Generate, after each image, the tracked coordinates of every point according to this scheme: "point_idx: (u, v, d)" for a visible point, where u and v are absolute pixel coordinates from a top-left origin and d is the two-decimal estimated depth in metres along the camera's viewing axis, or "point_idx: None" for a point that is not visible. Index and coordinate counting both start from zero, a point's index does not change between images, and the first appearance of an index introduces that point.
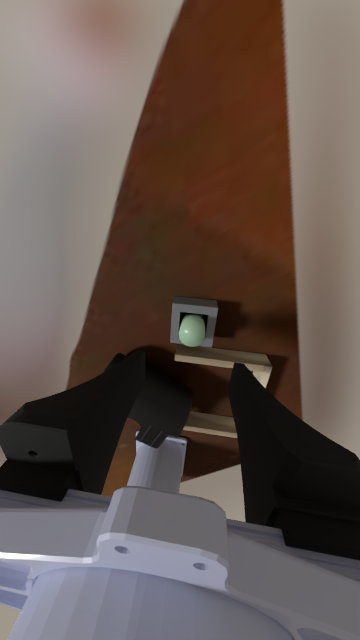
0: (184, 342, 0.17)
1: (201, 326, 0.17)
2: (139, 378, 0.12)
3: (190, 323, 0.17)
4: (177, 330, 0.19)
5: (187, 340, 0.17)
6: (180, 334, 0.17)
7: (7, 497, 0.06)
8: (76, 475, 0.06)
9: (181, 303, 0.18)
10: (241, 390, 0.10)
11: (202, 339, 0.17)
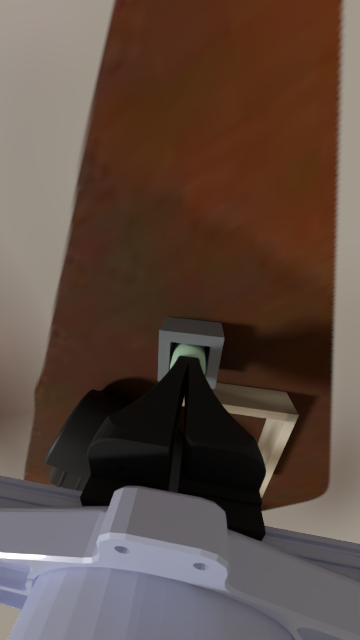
0: None
1: (200, 357, 0.12)
2: (185, 384, 0.12)
3: (185, 354, 0.12)
4: (167, 366, 0.14)
5: None
6: None
7: None
8: None
9: (172, 330, 0.13)
10: (187, 383, 0.10)
11: None
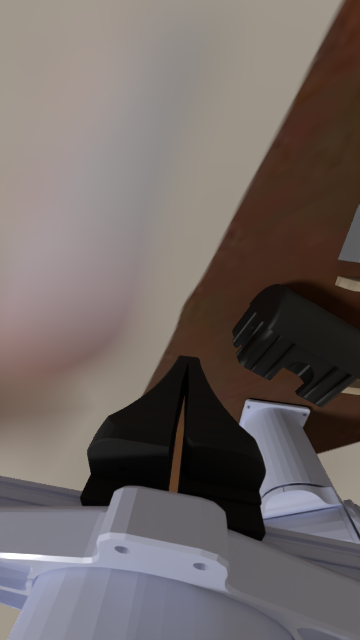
0: None
1: None
2: (185, 384, 0.12)
3: None
4: None
5: None
6: None
7: None
8: None
9: None
10: (187, 383, 0.10)
11: None
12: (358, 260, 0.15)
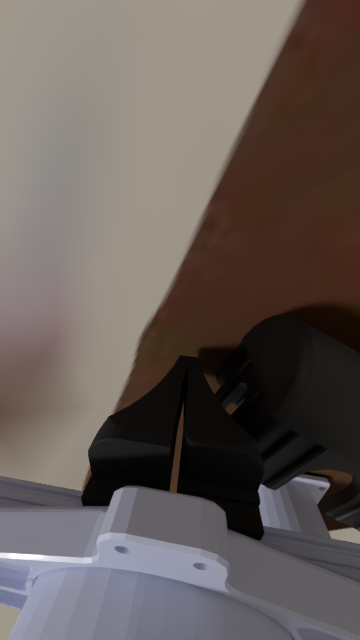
0: None
1: None
2: (185, 384, 0.12)
3: None
4: None
5: None
6: None
7: None
8: (163, 491, 0.06)
9: None
10: (186, 383, 0.10)
11: None
12: None
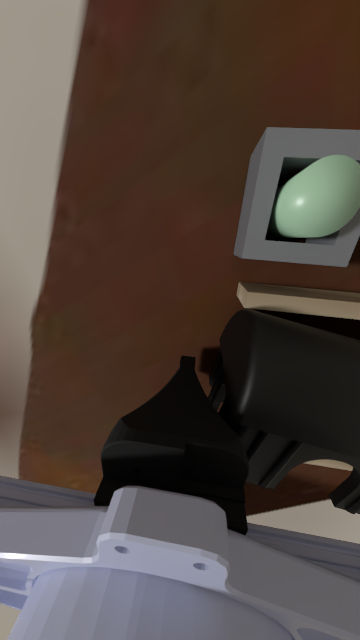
0: (299, 224, 0.07)
1: (355, 170, 0.06)
2: None
3: (331, 157, 0.06)
4: (266, 220, 0.08)
5: (308, 217, 0.07)
6: (293, 199, 0.07)
7: None
8: None
9: None
10: None
11: (352, 210, 0.06)
12: (242, 254, 0.08)
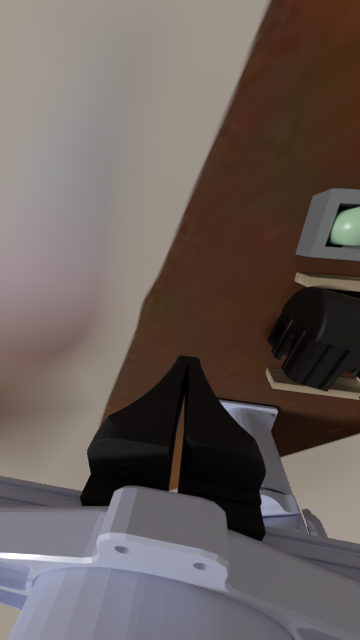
0: (348, 239, 0.13)
1: None
2: (185, 384, 0.12)
3: None
4: (326, 235, 0.14)
5: (353, 235, 0.13)
6: (346, 225, 0.13)
7: None
8: None
9: None
10: (187, 383, 0.10)
11: None
12: (310, 254, 0.14)
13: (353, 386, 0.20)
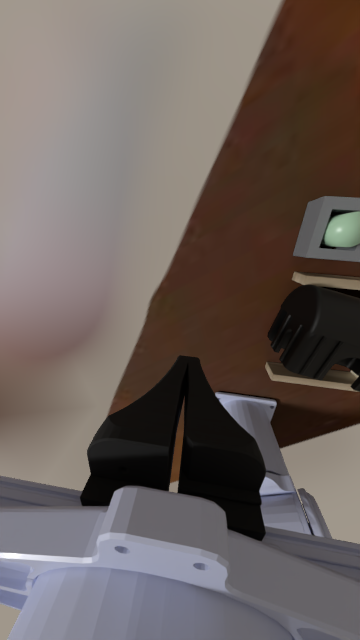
0: (339, 241, 0.14)
1: None
2: (185, 384, 0.12)
3: (356, 212, 0.14)
4: (320, 238, 0.15)
5: (344, 238, 0.14)
6: (337, 229, 0.14)
7: None
8: None
9: None
10: (187, 383, 0.10)
11: None
12: (305, 255, 0.16)
13: (347, 378, 0.21)
